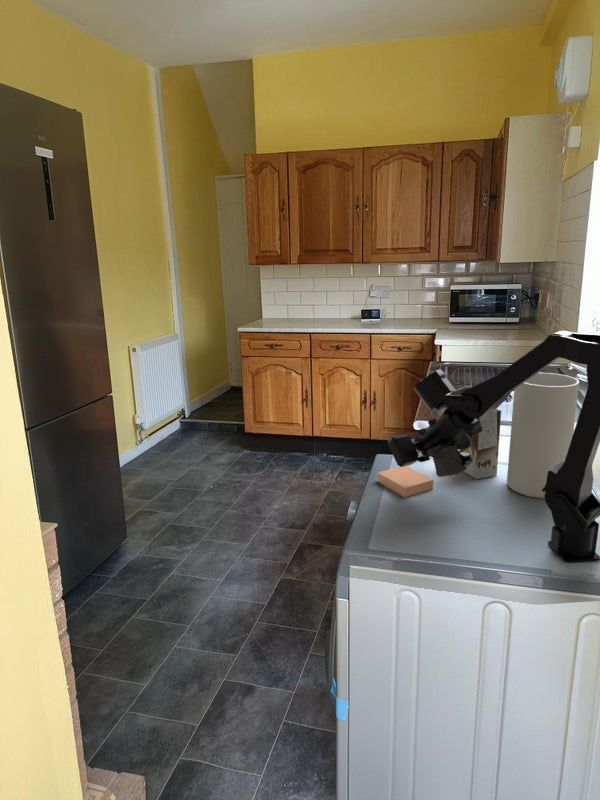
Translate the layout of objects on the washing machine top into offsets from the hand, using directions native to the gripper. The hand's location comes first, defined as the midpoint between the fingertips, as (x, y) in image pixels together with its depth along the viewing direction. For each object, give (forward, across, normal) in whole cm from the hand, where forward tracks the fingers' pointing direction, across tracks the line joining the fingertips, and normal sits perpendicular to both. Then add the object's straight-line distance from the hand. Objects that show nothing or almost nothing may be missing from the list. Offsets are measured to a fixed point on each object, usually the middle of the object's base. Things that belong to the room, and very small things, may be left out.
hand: (411, 460), depth 128 cm
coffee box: (+5, +20, -5) cm, 21 cm away
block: (+2, 0, -6) cm, 6 cm away
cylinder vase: (-5, +24, -15) cm, 29 cm away
